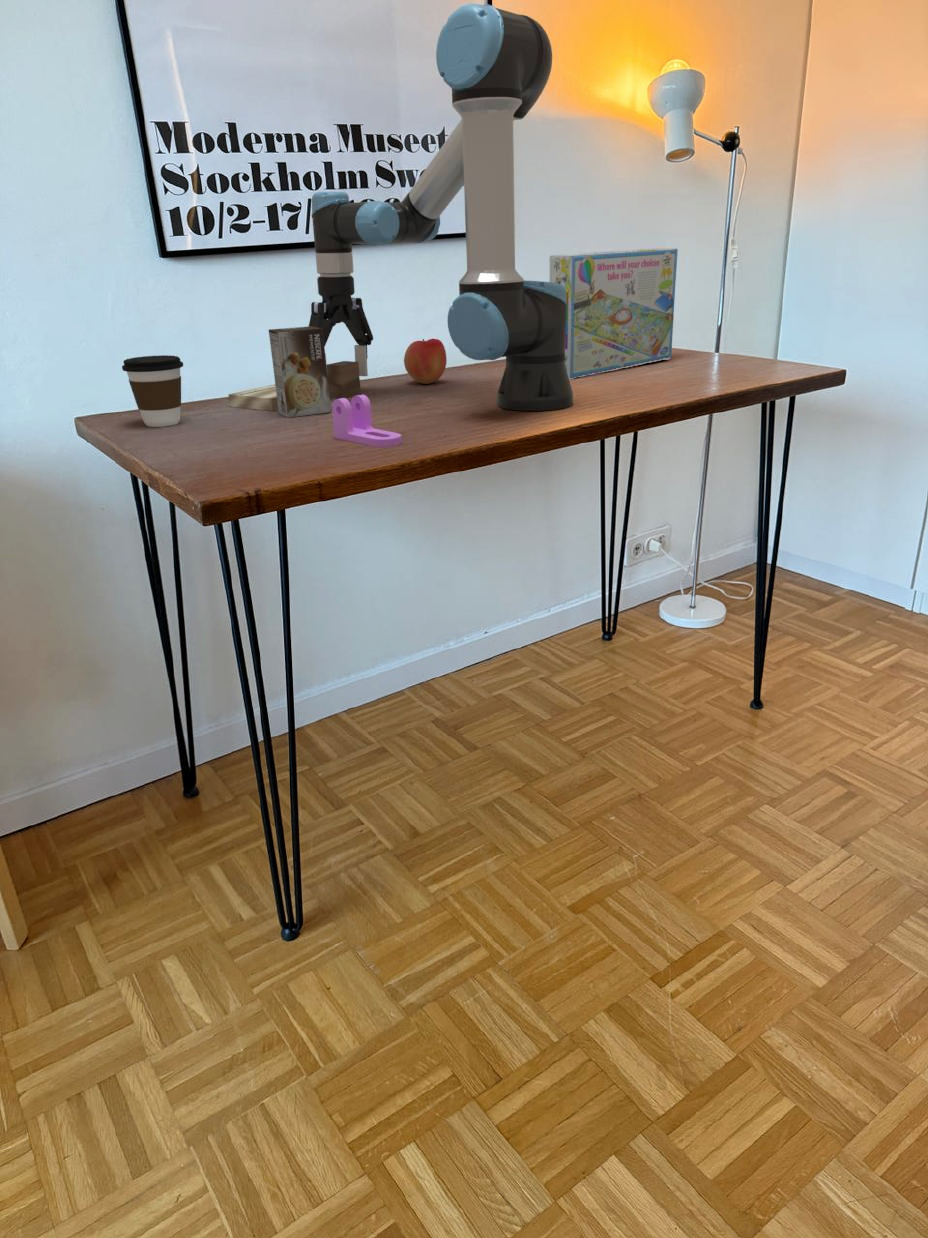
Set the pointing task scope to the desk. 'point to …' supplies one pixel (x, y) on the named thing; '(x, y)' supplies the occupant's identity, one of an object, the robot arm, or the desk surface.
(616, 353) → the game box
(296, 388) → the coffee box
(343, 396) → the chocolate brown block
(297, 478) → the desk surface
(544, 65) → the robot arm
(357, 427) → the bracket
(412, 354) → the apple
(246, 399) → the plank
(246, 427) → the desk surface
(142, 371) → the coffee cup
